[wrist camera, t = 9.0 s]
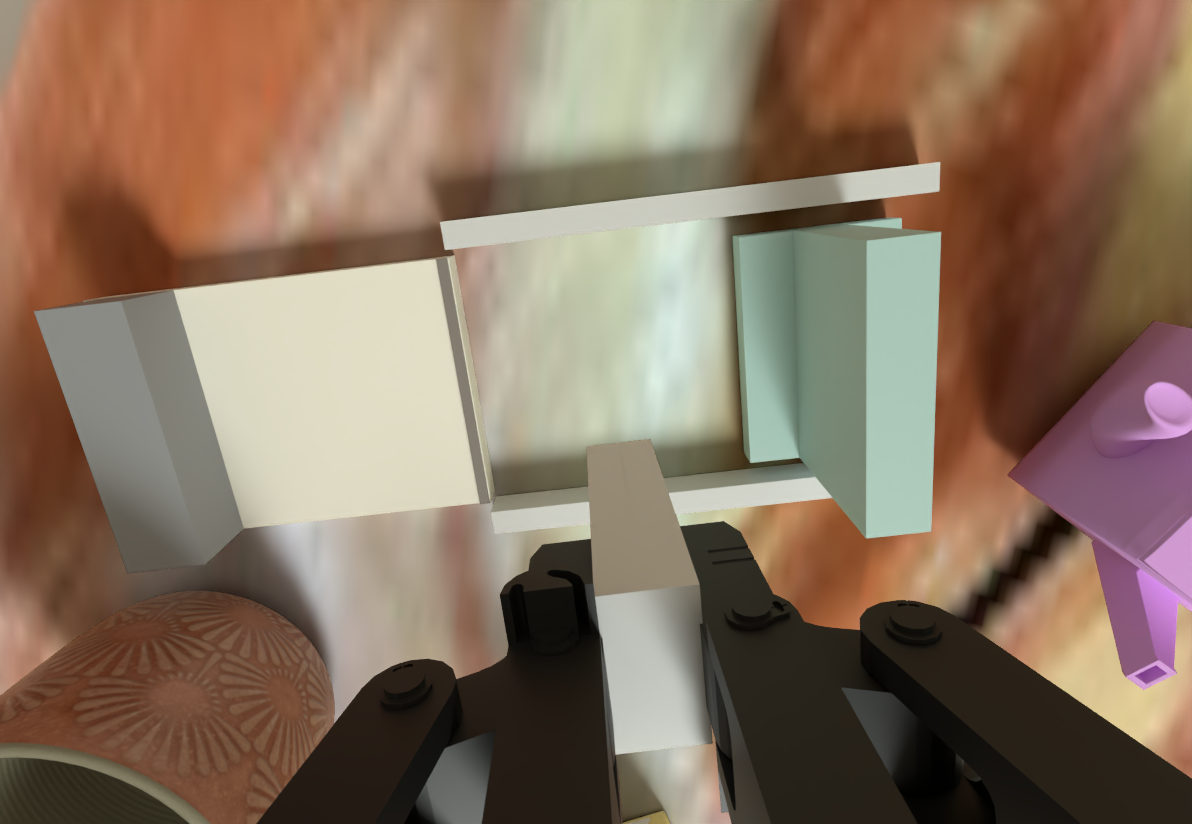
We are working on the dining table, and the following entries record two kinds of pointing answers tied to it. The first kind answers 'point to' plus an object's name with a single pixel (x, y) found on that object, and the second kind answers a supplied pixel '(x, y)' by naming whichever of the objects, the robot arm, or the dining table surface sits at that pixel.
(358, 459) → the cream green long frame
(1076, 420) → the teapot
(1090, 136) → the dining table surface
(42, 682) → the planter
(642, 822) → the candy box
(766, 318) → the stub
